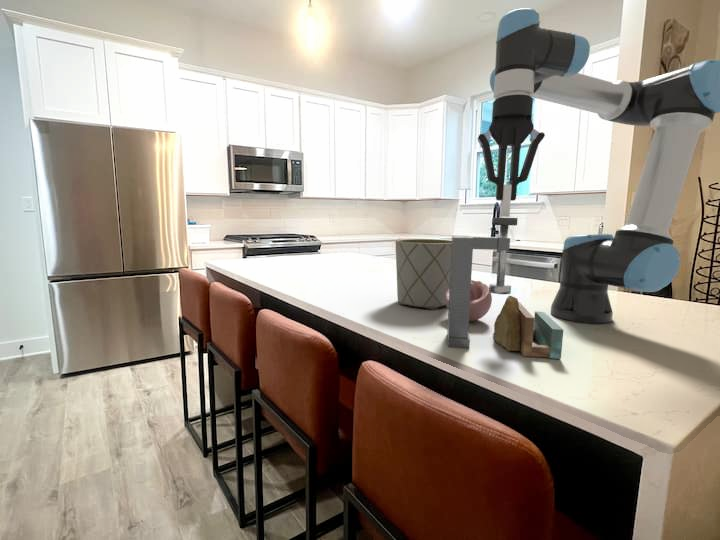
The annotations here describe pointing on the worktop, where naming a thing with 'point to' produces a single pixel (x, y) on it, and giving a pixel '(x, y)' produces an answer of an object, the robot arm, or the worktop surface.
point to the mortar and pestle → (476, 300)
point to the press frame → (465, 284)
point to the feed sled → (539, 335)
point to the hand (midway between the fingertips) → (504, 216)
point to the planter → (423, 271)
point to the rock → (508, 325)
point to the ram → (502, 257)
